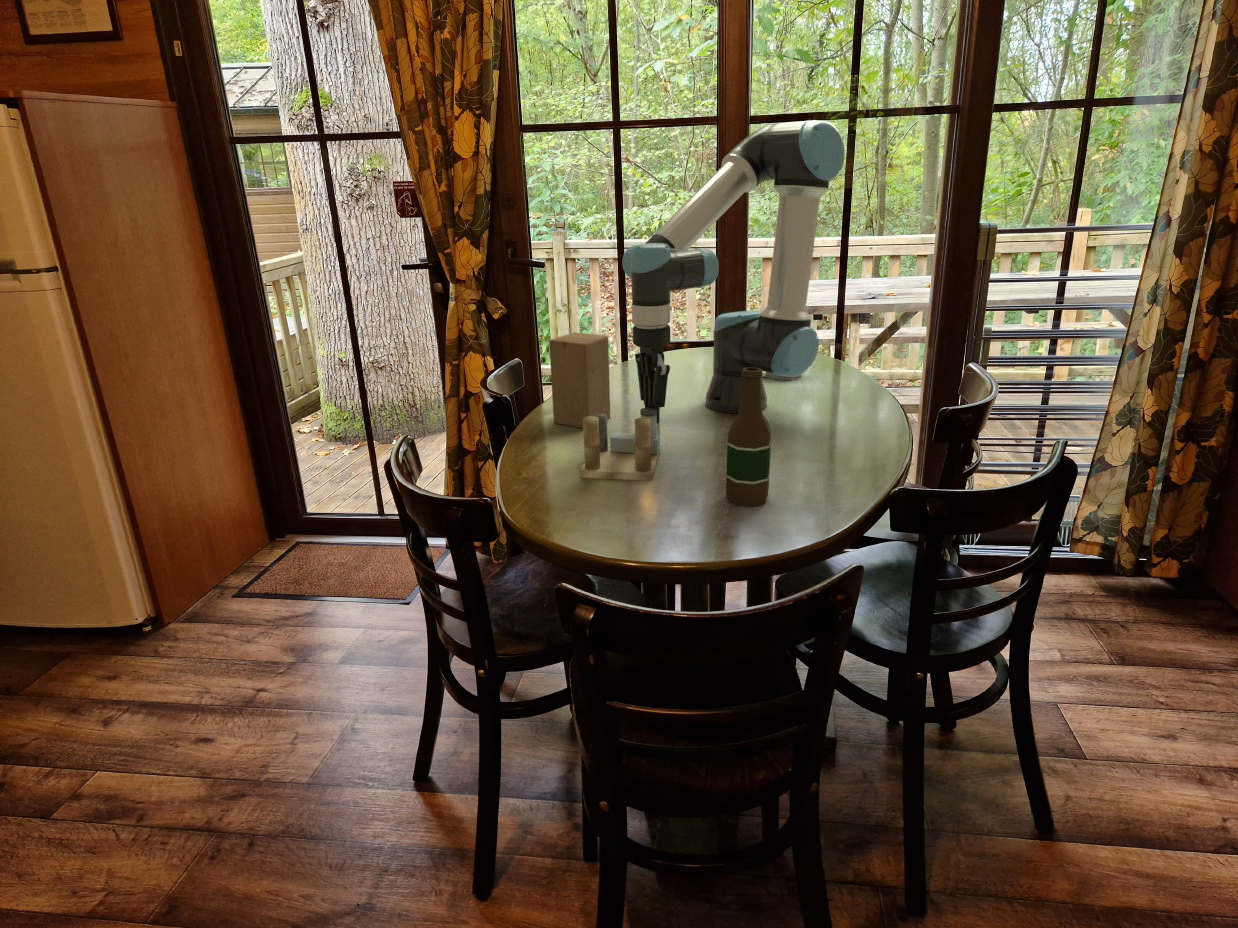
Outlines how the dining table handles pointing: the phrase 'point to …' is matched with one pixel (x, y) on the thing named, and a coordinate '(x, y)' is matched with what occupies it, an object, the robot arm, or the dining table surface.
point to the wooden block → (579, 377)
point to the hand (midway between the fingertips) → (652, 436)
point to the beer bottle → (749, 446)
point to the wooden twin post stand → (617, 463)
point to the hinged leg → (628, 440)
